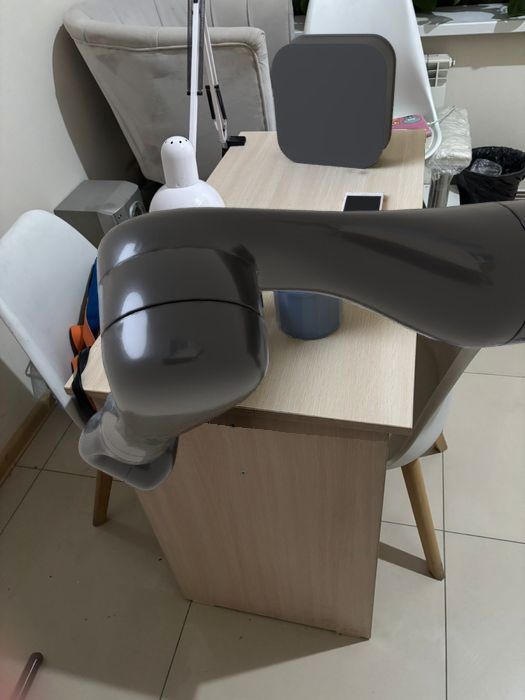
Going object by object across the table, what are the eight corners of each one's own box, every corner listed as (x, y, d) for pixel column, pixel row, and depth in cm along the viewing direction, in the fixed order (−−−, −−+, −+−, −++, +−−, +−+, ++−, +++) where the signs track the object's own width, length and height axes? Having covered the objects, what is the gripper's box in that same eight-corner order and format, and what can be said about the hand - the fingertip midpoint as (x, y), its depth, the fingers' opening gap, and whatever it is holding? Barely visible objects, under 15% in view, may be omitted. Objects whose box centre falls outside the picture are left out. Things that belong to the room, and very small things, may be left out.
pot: (340, 295, 83) (339, 251, 77) (345, 338, 75) (345, 292, 70) (277, 299, 84) (272, 255, 78) (276, 341, 76) (271, 296, 71)
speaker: (278, 161, 123) (269, 43, 106) (292, 146, 128) (285, 32, 111) (381, 170, 114) (389, 43, 96) (391, 154, 119) (400, 31, 102)
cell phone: (335, 235, 96) (335, 232, 95) (345, 194, 107) (345, 192, 106) (377, 237, 94) (377, 234, 93) (383, 195, 105) (383, 192, 105)
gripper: (233, 331, 63) (270, 258, 74) (131, 319, 67) (180, 251, 78) (241, 373, 68) (274, 299, 79) (146, 359, 72) (190, 290, 83)
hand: (228, 275), depth 78 cm, fingers open, 8 cm apart
